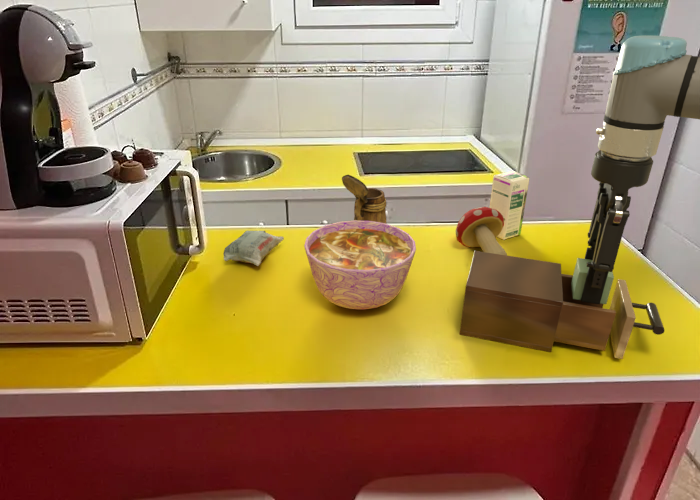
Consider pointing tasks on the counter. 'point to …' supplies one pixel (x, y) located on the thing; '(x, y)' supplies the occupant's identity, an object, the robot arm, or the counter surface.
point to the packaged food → (251, 247)
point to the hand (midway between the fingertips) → (588, 292)
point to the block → (580, 279)
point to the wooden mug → (366, 200)
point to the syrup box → (510, 201)
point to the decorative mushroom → (481, 229)
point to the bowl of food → (359, 262)
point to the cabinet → (512, 300)
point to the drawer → (602, 320)
